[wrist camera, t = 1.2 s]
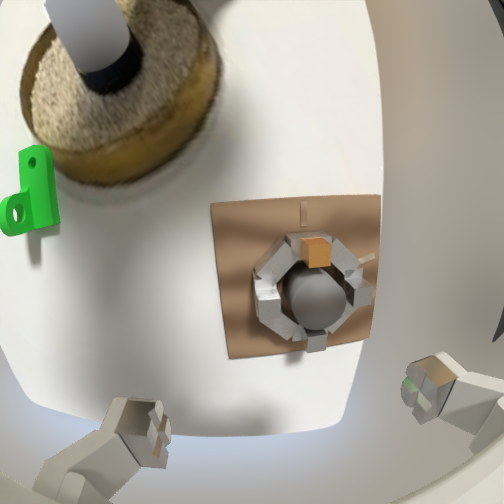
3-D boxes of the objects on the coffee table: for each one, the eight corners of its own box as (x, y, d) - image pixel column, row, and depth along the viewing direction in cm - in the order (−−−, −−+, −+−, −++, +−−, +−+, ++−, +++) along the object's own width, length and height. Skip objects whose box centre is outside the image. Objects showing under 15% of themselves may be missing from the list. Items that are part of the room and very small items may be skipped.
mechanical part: (61, 222, 31) (27, 234, 24) (34, 228, 31) (1, 240, 23) (53, 140, 28) (19, 137, 20) (26, 151, 28) (-8, 151, 20)
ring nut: (249, 236, 33) (254, 250, 27) (354, 228, 33) (376, 239, 28) (256, 333, 36) (261, 359, 31) (348, 320, 37) (365, 342, 31)
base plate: (211, 203, 32) (205, 211, 25) (376, 194, 34) (411, 201, 26) (229, 354, 39) (230, 391, 31) (366, 334, 40) (389, 362, 32)
